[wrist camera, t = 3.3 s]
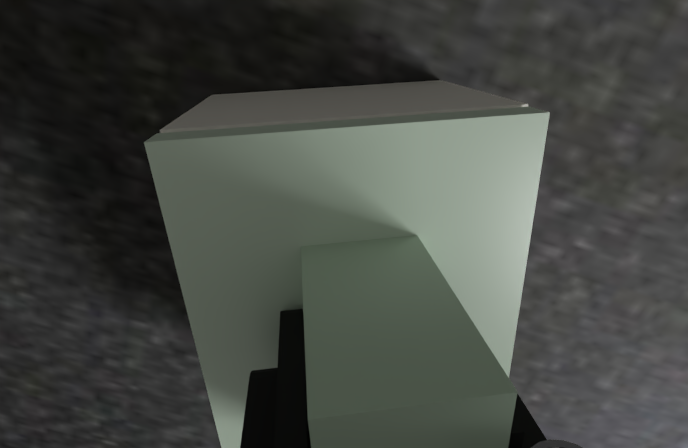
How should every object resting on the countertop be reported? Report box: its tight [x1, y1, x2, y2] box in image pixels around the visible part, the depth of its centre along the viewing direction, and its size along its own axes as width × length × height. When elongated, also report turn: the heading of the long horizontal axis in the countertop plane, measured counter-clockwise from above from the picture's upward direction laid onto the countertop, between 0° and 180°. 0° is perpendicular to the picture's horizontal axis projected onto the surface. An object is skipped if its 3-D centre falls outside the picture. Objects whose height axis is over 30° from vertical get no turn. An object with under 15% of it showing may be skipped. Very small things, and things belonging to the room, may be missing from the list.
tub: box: [160, 80, 528, 133], centre depth 14 cm, size 11×8×6 cm
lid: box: [144, 107, 550, 448], centre depth 9 cm, size 11×8×6 cm
